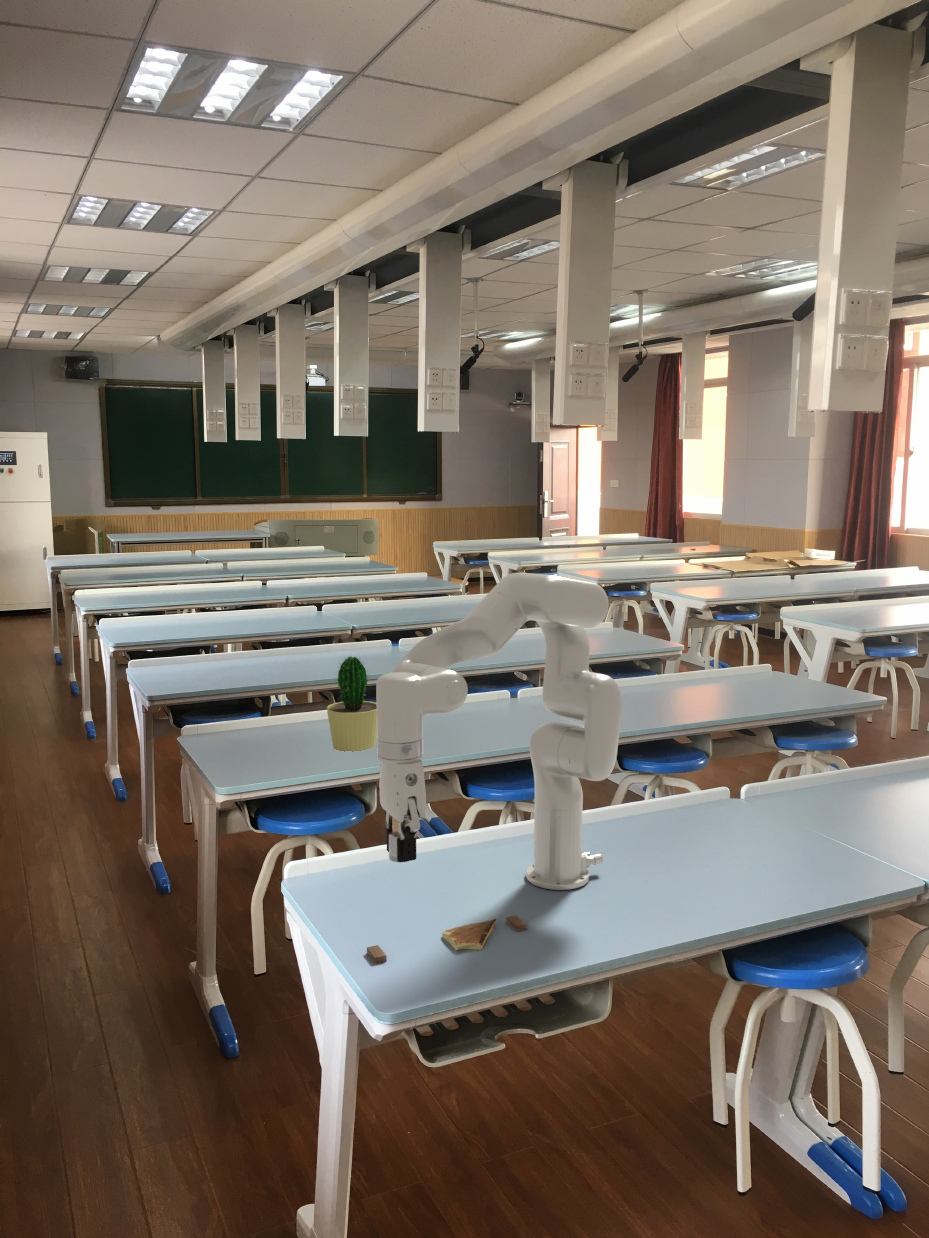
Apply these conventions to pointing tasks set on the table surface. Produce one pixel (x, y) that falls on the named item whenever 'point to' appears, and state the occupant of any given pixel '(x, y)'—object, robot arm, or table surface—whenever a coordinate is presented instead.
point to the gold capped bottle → (394, 839)
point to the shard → (469, 935)
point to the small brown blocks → (380, 956)
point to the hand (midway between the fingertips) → (401, 854)
